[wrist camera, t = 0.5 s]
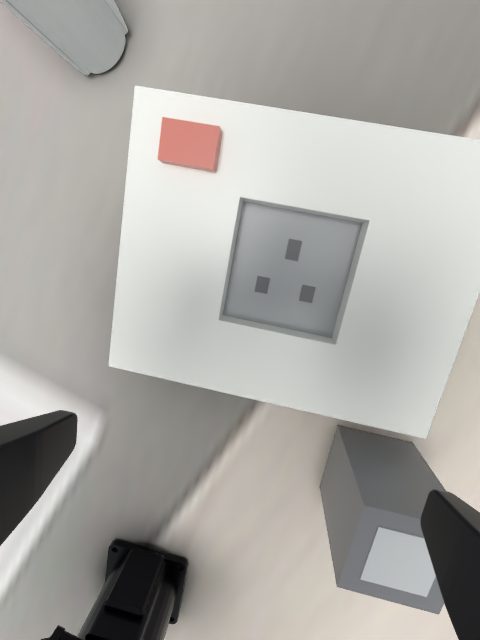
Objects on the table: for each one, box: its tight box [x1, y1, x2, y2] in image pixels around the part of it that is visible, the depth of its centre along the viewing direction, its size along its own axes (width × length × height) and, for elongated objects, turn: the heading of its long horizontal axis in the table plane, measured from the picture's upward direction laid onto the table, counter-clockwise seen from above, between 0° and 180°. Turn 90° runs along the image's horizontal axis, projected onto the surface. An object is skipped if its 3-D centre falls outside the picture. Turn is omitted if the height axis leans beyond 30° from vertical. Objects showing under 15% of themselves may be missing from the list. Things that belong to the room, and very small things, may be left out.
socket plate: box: [109, 86, 480, 439], centre depth 18 cm, size 16×20×3 cm
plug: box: [320, 425, 446, 614], centre depth 18 cm, size 5×5×7 cm
